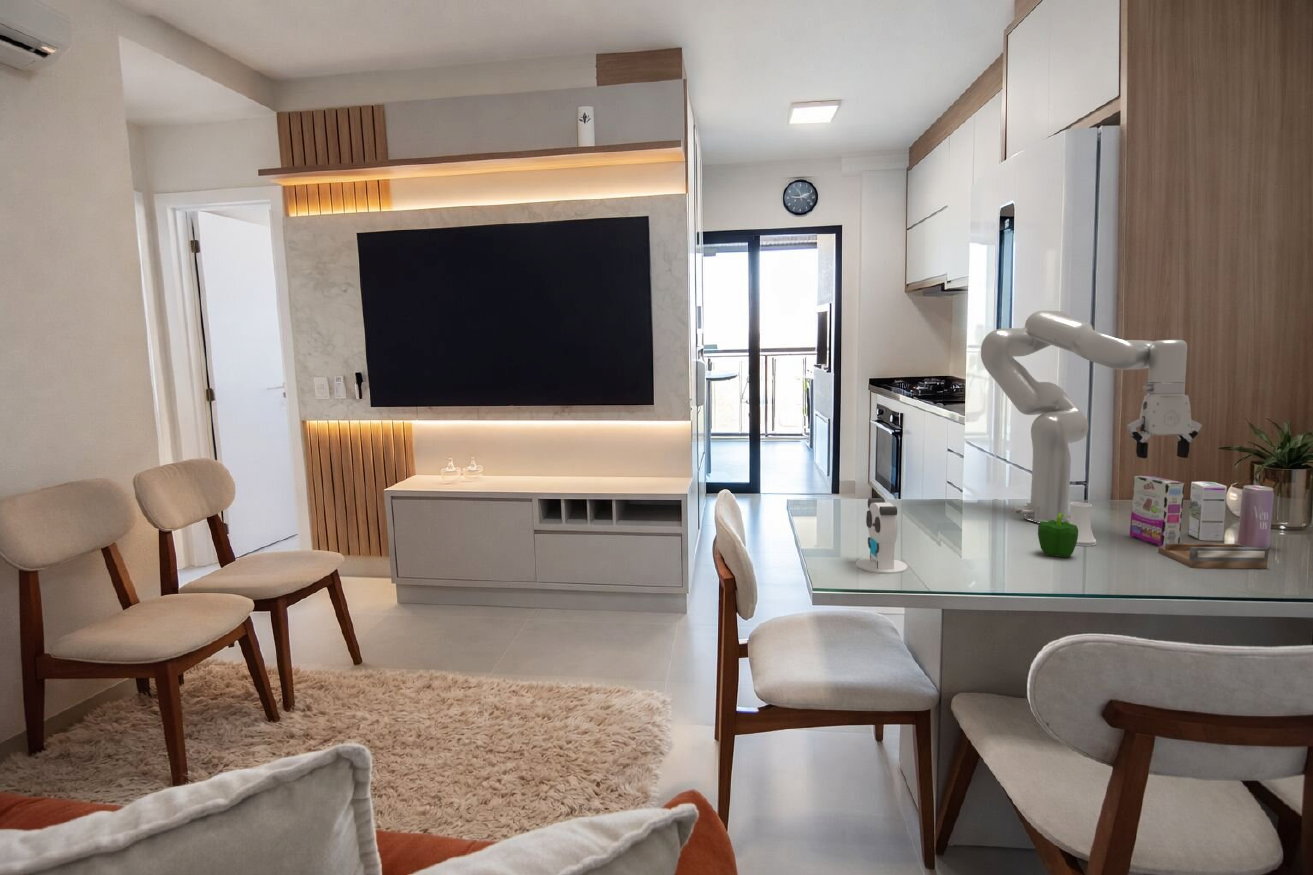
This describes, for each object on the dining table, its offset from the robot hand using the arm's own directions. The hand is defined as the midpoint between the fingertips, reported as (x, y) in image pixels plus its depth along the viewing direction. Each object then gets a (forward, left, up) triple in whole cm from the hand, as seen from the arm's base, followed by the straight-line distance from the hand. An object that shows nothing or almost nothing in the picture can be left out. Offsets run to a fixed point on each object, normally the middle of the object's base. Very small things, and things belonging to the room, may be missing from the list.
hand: (1162, 457), depth 177 cm
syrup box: (+15, +4, -22) cm, 27 cm away
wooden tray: (+3, -16, -22) cm, 27 cm away
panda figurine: (-74, -23, -22) cm, 81 cm away
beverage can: (+21, -4, -22) cm, 31 cm away
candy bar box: (0, 0, -22) cm, 22 cm away
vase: (-19, -1, -22) cm, 29 cm away
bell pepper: (-30, -13, -22) cm, 40 cm away
